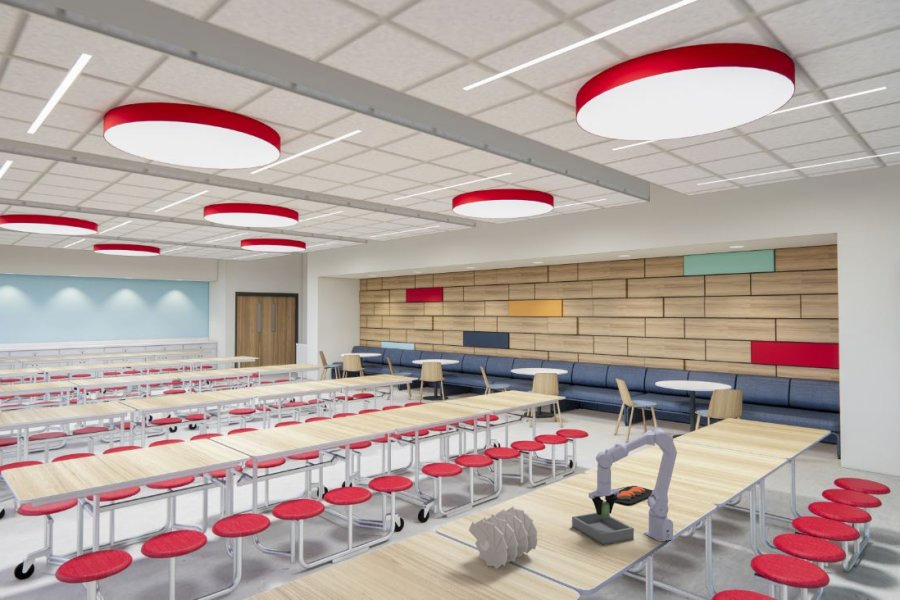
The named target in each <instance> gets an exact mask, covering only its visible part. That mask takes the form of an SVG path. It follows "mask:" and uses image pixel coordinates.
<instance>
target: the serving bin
mask: <svg viewBox="0 0 900 600" xmlns="http://www.w3.org/2000/svg"><path fill="white" fill-rule="evenodd" d="M571 528H573V529H574V530H576V531H577V532H579V533H581V534H583V535H584V536H586V537H588V538H589V539H591V540H593V541H594V542H595V543H597V544H599V545H601V546H607V545H613V544H616V543H622V542H626V541H632V539H633V540H634V539H635V538H634V537H635V536H634V535H635V534H634V533H635V531H634V530H635V528H634V527H632V526H630V525H629V524H626V523H625V522H623V521H620V520H619V519H616V518H614V517H612V516H610V518H609V519H600V518H598V514H597V513H596V512H592V513H586V514H580V515H574V516H572V517H571Z"/></svg>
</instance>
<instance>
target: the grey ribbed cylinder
mask: <svg viewBox="0 0 900 600" xmlns="http://www.w3.org/2000/svg"><path fill="white" fill-rule="evenodd" d="M469 526H470V527H469V529H468V531H469V533H470V534H471V535H472V536H473V537H474V538H475V539H476V541H475V543H474V544H475V546H476V548H477V550H478V552H479V555H478V557H479V558H480V559H482V560H483V561H484V562H485V563H486V566H487V567H494V568H495V570H498V569H499V568H500V567H501V566H504V567H505V566H506V565H507V564H508V563H510V562H511V561H512V562H515V561H516V558H520V557H521V556H522V555H523V554H524V553H525V554H528V553H530V551H532V550H536V547H537V545H538V532H539V531H538V530H537V528H536V526H535V524H534V519H533V518H532V517H530V516H529V514H527V513H526V512H525V510H524V509H523V510H522V509H518V508H515V507H514V506H512V507H510V508H508V509H507V510H506V509H505V508H504V509H502V510H500V511H499V512H497V513H496V514H494V513H492V514H491V517H487V516H484V518H482V519H481V520H479V521H477V522H474V521H472V522H471V524H470V525H469Z"/></svg>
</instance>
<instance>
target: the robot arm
mask: <svg viewBox="0 0 900 600" xmlns="http://www.w3.org/2000/svg"><path fill="white" fill-rule="evenodd" d="M645 445H649V446H650V445H651V446H658V447H659V449H660V450H661V451H662V455H661V456H662V457H661V460H660V465H659V469H658V473H657V477H656V481H655V487H654V489H652V490H653V491H652V494H651V496H650V497H647V501H646V502H647V506H648V507H649V510H648V530H647V531H643V534H645V535H647V536H648V537H650V538H652V539H654V540H656V541H658V540H659V541H658V542H660V543H661V541H663V542H666V540H667V541H671V540H675V538H676V537H674V523H673V521H672V520H671V519H670V518H669V517H668V514H669V506H668V504H669V496H668V492H669V489H670V484H671V480H672V475H673V472H674V468H675V464H676V460H677V454H678V451H677V449H676V445H675V442H674V439H673V438H672V436H671V435H670V434H669V433H667V432H666V431H665V430H664V429H662V428H661V427H654V428H652V429H651V430H647V431H646V432H645V433H643V434H641V435H639V436H637V437H635V438H634V439H632V440H630V441H628V442H627V443H625V444H624V443H615V444H614V446H612V447H610V448H608V449H607V448H606V449H604V451H603V450H602V451H599V452H598V453H597V455H596V457H595V460H596V462H597V465H596V466H597V467H596V468H597V469H596V490H594V491H592V492H588V499H591V500H592V502H593V504H594V505H593V506H594V507H595V508H594V509H595V513H597V514H598V515H601V511H602V503H603V501H604V500H603V499H602V497H604V498H605V501H606V502H609V503H610V514H612V511H613V508H614V504H615V503H616V502H617V501H616V500H617V497H616V496H615V495H619V490H620V489H618V488H612V466H613V463H616V462H618V461H620V460H622V459H624V458H627V457H628V455H629V453H630V452H631V451H634V450H636V449H638V448H641V447H643V446H645ZM617 489H618V490H617Z"/></svg>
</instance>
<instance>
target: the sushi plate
mask: <svg viewBox="0 0 900 600" xmlns="http://www.w3.org/2000/svg"><path fill="white" fill-rule="evenodd" d="M616 489H617V490H619V495H615V496H616V497H617V500H616V501H615V502H617V503H621V504H624V505H633V504H635V503H637V502H639V501H642V500H645V499H648V498H649V497H650V496H651V494H652V491H653V490H654V489H649V488H646V487H642V486H638V485H630V486H625V487H623V486H622V487H619V488H616Z"/></svg>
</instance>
